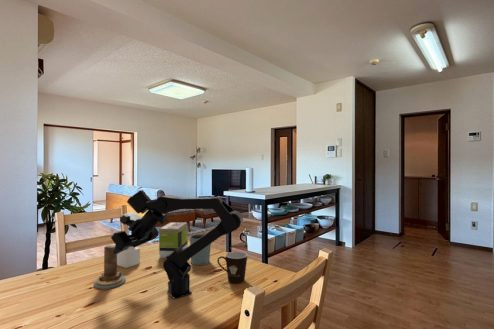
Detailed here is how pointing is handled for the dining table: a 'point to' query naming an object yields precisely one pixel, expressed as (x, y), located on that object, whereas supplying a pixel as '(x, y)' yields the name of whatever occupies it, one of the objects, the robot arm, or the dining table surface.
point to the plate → (109, 285)
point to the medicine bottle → (129, 257)
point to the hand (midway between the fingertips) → (124, 249)
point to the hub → (104, 283)
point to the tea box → (172, 238)
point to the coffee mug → (235, 266)
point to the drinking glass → (201, 256)
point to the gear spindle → (110, 265)
